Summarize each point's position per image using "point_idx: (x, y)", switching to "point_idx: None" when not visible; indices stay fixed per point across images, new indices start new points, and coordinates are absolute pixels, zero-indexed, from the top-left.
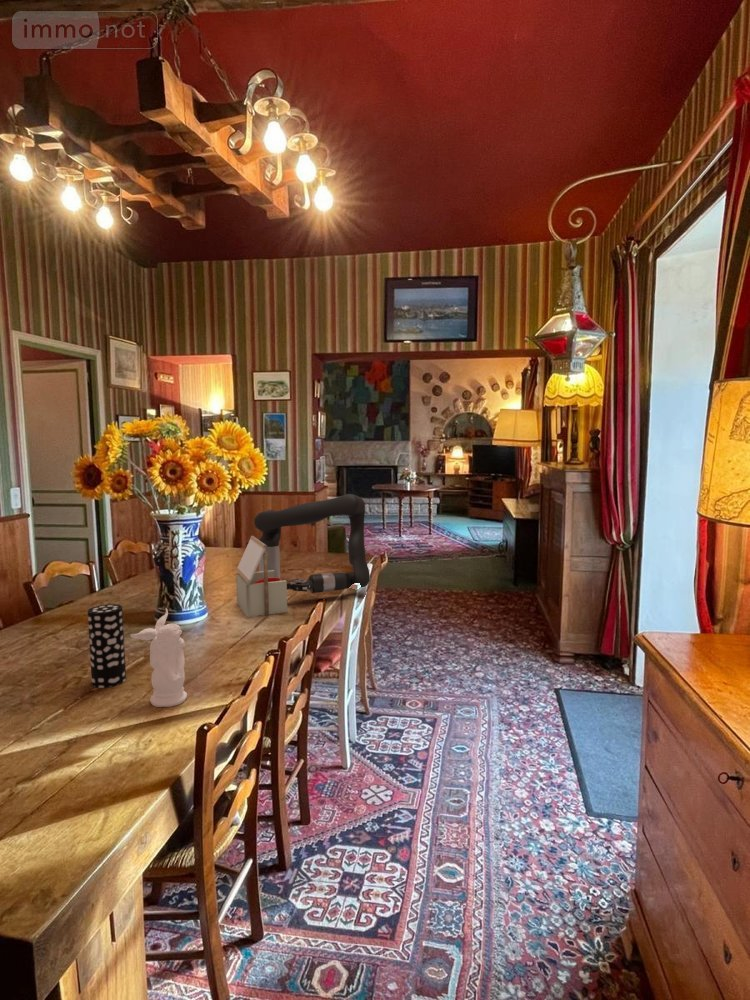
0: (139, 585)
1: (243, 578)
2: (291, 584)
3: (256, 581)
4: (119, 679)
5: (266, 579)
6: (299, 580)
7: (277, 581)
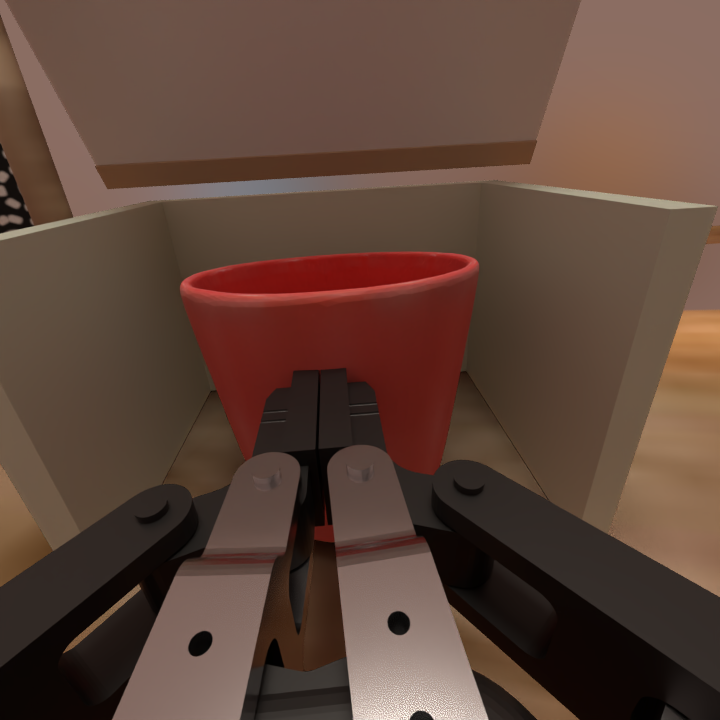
0: (712, 236)
1: (344, 190)
2: (237, 482)
3: (414, 252)
4: None
5: (16, 170)
6: (371, 715)
7: (15, 234)
